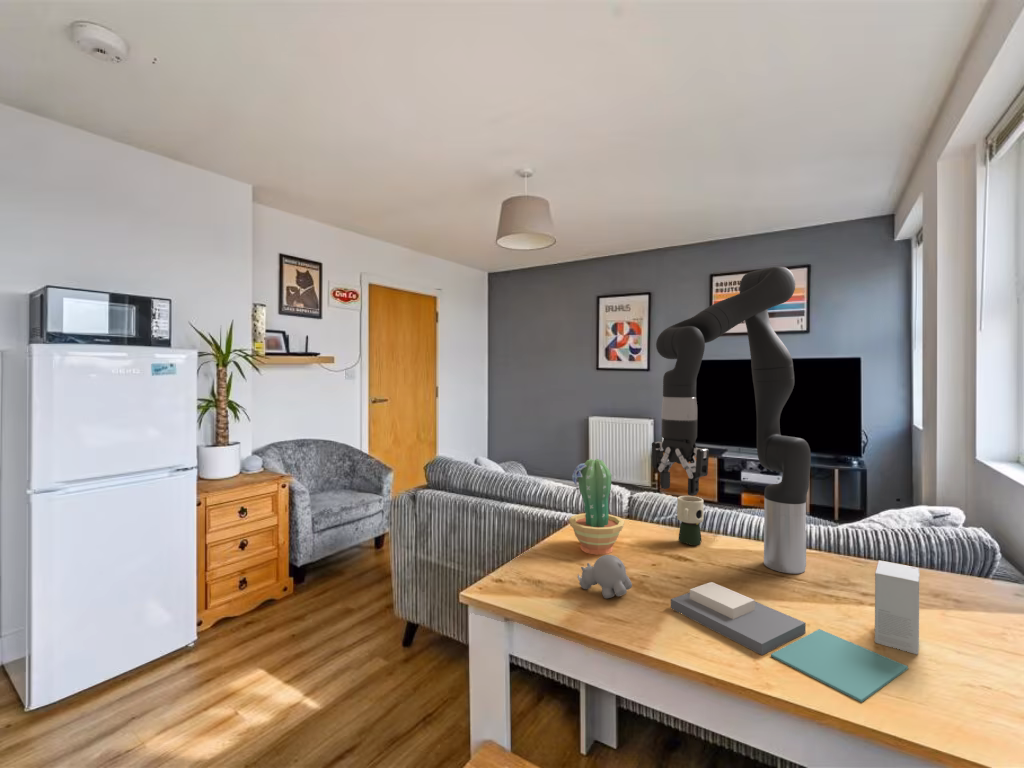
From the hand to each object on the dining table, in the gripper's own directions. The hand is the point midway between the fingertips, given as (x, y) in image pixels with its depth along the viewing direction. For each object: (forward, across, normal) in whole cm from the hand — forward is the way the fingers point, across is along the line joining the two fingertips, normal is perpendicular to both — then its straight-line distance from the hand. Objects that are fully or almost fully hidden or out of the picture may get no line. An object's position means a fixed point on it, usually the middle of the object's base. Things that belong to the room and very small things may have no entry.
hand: (678, 491), depth 109 cm
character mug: (+23, +20, -29) cm, 42 cm away
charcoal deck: (+23, -14, 0) cm, 27 cm away
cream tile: (+20, -11, 0) cm, 23 cm away
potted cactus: (+23, +31, -3) cm, 39 cm away
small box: (+23, -34, -19) cm, 45 cm away
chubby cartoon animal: (+23, +9, +14) cm, 29 cm away
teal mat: (+23, -32, -2) cm, 39 cm away
